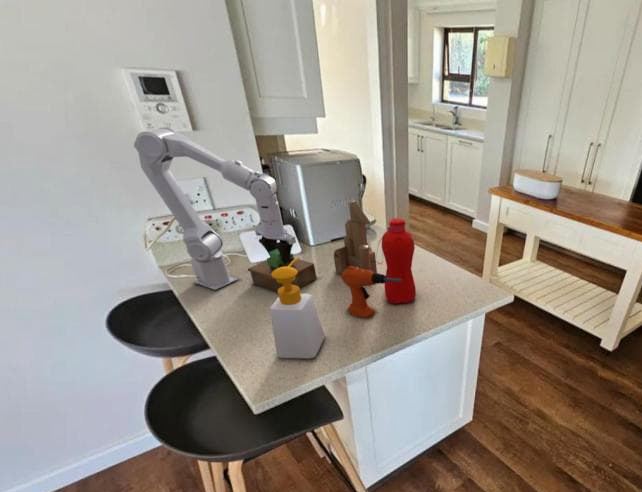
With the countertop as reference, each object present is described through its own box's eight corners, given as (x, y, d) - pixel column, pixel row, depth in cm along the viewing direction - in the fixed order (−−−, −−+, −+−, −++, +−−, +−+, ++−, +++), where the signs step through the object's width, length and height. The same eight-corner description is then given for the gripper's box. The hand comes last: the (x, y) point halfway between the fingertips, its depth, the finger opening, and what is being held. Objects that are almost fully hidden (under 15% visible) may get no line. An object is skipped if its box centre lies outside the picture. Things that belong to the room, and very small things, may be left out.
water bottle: (378, 291, 117) (372, 215, 104) (412, 289, 120) (411, 213, 106) (381, 306, 110) (374, 226, 96) (417, 303, 112) (416, 224, 99)
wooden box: (287, 295, 113) (284, 281, 110) (253, 283, 118) (249, 270, 115) (316, 278, 123) (314, 265, 120) (284, 269, 127) (281, 256, 125)
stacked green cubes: (278, 271, 114) (274, 256, 111) (268, 268, 115) (264, 253, 112) (295, 263, 119) (291, 248, 116) (285, 260, 120) (282, 245, 118)
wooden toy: (334, 272, 127) (323, 200, 113) (349, 266, 132) (340, 195, 118) (367, 285, 120) (359, 210, 107) (381, 278, 125) (375, 205, 111)
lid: (282, 281, 110) (282, 279, 109) (248, 270, 115) (247, 268, 114) (314, 265, 120) (314, 263, 120) (281, 256, 125) (280, 254, 124)
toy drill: (403, 324, 100) (395, 274, 93) (346, 316, 106) (333, 269, 99) (411, 315, 104) (403, 266, 96) (355, 308, 110) (344, 262, 102)
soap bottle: (331, 327, 100) (318, 252, 87) (315, 360, 88) (298, 278, 76) (295, 326, 99) (277, 250, 87) (275, 359, 88) (251, 277, 75)
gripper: (299, 219, 109) (307, 261, 117) (264, 211, 114) (274, 251, 122) (281, 226, 104) (290, 269, 111) (244, 217, 109) (256, 259, 116)
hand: (281, 260), depth 116 cm, fingers open, 4 cm apart
